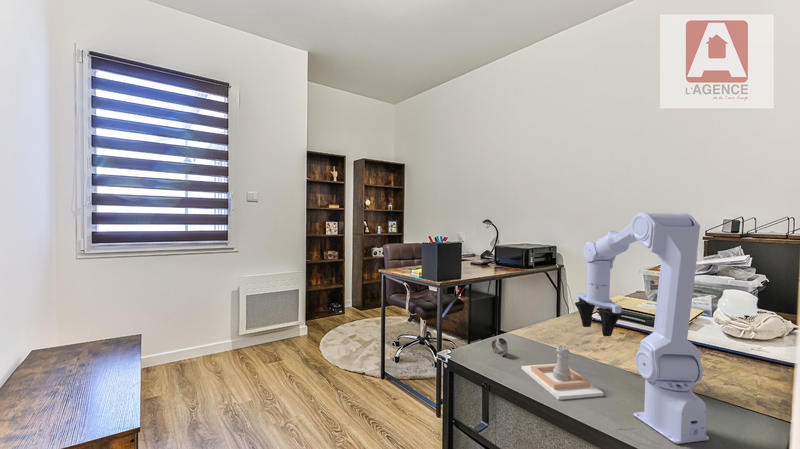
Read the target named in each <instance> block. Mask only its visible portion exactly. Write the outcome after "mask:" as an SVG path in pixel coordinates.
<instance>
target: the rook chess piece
mask: <svg viewBox="0 0 800 449" xmlns="http://www.w3.org/2000/svg"><path fill="white" fill-rule="evenodd" d="M562 346H563V347H562ZM555 351H556V352H557V354H556V358H557V360H556V363H555V364H556V366H555V368H554V369H553V372H554V373H553V376H554V377H555V378H556V379H558V380H561V381H569V380H570V379H571V372H570V370H569V368H570V367H569V364H568V363H569V361H568V360H569V356H568V355H569V354H570V350H569V347H567V346H566V345H557V348H556V349H555ZM568 367H569V368H568Z"/></svg>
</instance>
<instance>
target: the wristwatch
mask: <svg viewBox="0 0 800 449" xmlns="http://www.w3.org/2000/svg"><path fill="white" fill-rule="evenodd" d="M490 343H491V348H492V350H493V352H494V353H495V354H496V353H497V355H498V354H499V355H498V356H500V355H501V356H500V357H505V356H507V354H508V352H509V351H508V341H507V340H506V339H505V338H504V337H496V338H494V339H493V340H492V341H491V342H490ZM496 344H497V345H498V346H499V347H500V348H501V349H502V351H501V350H500V349H499V348H498V347H497V345H496Z"/></svg>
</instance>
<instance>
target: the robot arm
mask: <svg viewBox="0 0 800 449" xmlns="http://www.w3.org/2000/svg"><path fill="white" fill-rule="evenodd" d="M700 231H701V224H699V222H698V221H697V220H696V219H695V218H694V217H693V215H691V214H689V213H685V212H682V213H681V212H680V213H654V212H653V213H651V212H650V213H649V212H639V213H637V214H636V215H634V216H632V217H631V220H630V223H629V224H628V225H627V226H626V227H624V228H623V229H622V230H620V231H616V230H610V231H608V232H607V234H605V235H604V236H602V237H600V238H598V240H597V241H587V242H586V243H585V244H584V245H583V250H582V251H583V253H582V254H583V257H584V260H585V261H586V263H587V264H586V291H585V292H586V293H576V300H577V301H575V303H574V304H575V307H576V308H577V311H578V314H579V316H580V320H581V324H582V327H583V328H591V326H592V323H593V322H592V321H593V314H594V310H595V307H598V308H600V309H601V310H598V313H599V317H600V321H601V332H602V336H603V337H604V338H605V337H612V334H613V331H614V329H615V327H616V324H617V323H618V322H619V320H620V318H621V317H622V316H623V312H622V307H623V306H622V305H620V304H617V303H615V302H614V301H612V299H611V298H610V293H611V292H610V291H611V290H610V288H611V286H610V285H611V269H613V267H614V262H615V260H616V257H617V256H618V255H621V254H623V253H625V252H626V251H627V250H628V249H629V247H630V244H633V243H635V242H638V243H640V244H641V245H643V247H645V248H646V249H647V250H648V251H650V252H651V253H653V254H655V255H657V256H658V258H659V259H660V268H659V278H658V288H657V297H656V303H655V304H656V305H655V315H654V325H653V331H652V332H651V333H649V335H647V336H646V337H644V338H642V339H641V340H640V345H639V348H638V350H637V352H636V355H635V359H634V361H635V366H636V369H637V371H638V373H639V375H640V376H641V377H642V378H643V379H644V380H645V382H644V404H643V405H644V406H643V407H644V408H643V409H644V410H643V411H638V412H637V411H636V412H633V414H632V415H633V416H634V417H636V418H637V419H638V420H640V421H641V422H643V423H644V424H646V425H647V426H649V427H650V428H652V429H654V431H656V432H657V433H659V434H661V435H662V436H664V438H666V439H668V440H669V441H671V442H672V443H674V444H677V445H678V444H686V443H688V444H689V443H693V442H694V443H695V442H703V441H709V440H710V437H709V436H708V435H707V418H708V409H707V403H705V401H704V400H703V399H702V398H701V397H699V396H698V395H696V394H695V393H694V392H693V391H692V389H695V384H696V383H699V382H700V381H701V380H702V379H703V375H704V374H703V373H704V370H703V369H704V368H703V366H702V361H701V356H702V352H701V350H699V348H698V347H697V346H696V345H694V344H693V343H692V342H690V341H689V340H688V336H689V329H690V328H689V327H690V319H691V312H692V302H693V293H694V285H695V277H696V270H697V269H696V268H697V261H698V248H699V238H700V237H699V236H700V233H701V232H700Z"/></svg>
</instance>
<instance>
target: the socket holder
mask: <svg viewBox="0 0 800 449" xmlns="http://www.w3.org/2000/svg"><path fill="white" fill-rule="evenodd" d="M556 364H557V363H549V364H547V363H546V364H544V363H543V364H532V365H531V364H530V365H521V367H520V368H521V370H522V371H523V372H525V373H526V374H527V375H528V376H529V377H531V378H532V379H533V380H534V381H535V382H537V383H538V384H539V385H540V386H541V387H543V388H544V389H545V390H546V391H547V392H548V393H550V395H552V396H553V397H554V398H556V399H557V400H559V401H560V400H573V399H582V398H593V397H604V392H603V391H602V390H601V389H599V388H597V387H596V386H594V385H593V384H592V383H591V381H590V380H588V379H587V378H586V377H584V376H583V375H581V374H579V373H578V372H576V371H575V370H573V369H572V368H571V367H569V366H568V368H569V370H570V372H571V379H570V380H569V381H561V380H558V379H556V378H555V377H554V376H553V373H554V372H553V369H554V368H555V366H556Z"/></svg>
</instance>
